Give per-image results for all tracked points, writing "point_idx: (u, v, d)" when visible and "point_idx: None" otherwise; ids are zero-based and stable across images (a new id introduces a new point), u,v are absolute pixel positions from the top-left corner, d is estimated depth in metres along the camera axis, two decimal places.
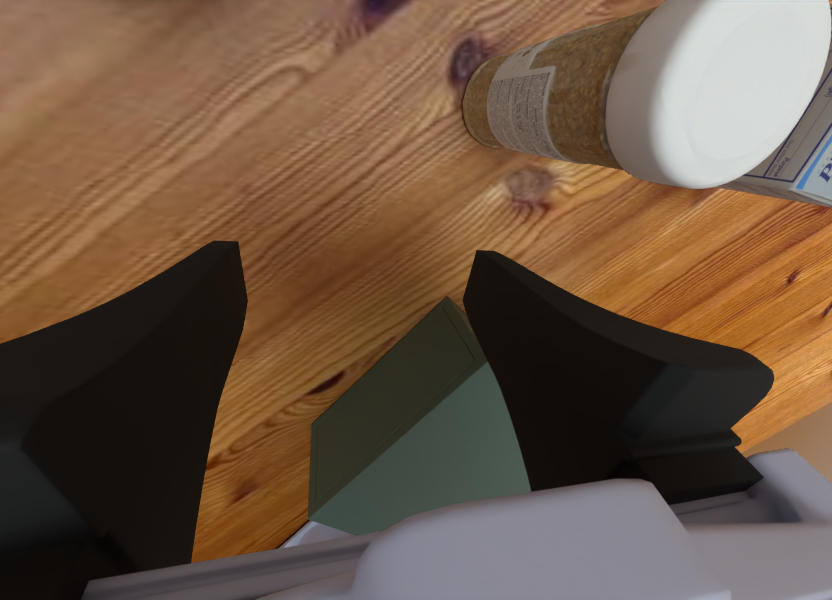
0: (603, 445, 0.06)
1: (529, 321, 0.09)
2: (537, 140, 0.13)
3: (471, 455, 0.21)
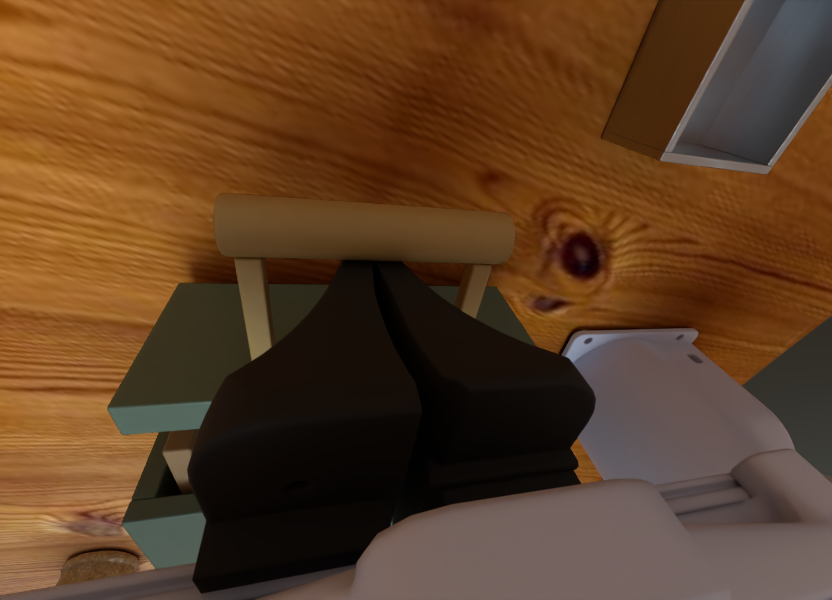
0: (418, 469, 0.06)
1: (390, 324, 0.08)
2: None
3: None
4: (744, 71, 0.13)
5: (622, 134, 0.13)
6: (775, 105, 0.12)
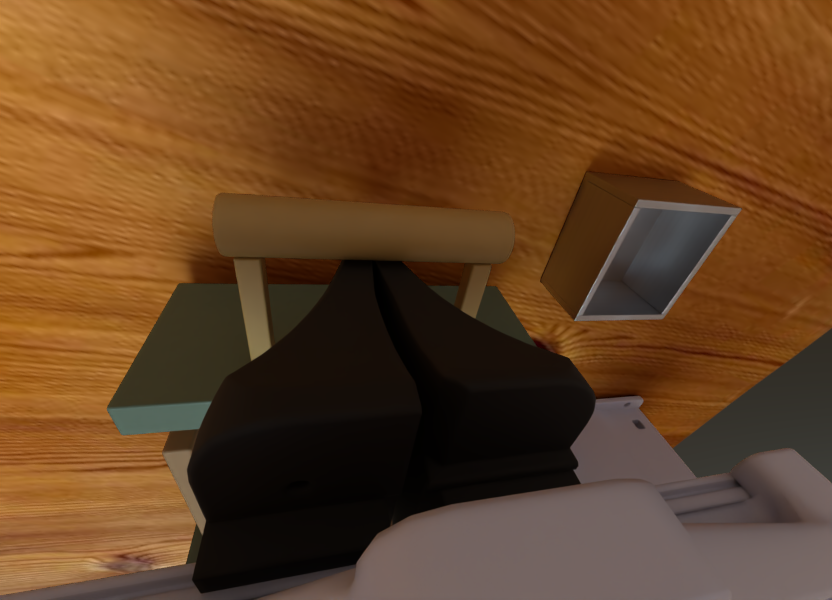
0: (418, 469, 0.06)
1: (390, 324, 0.08)
2: None
3: None
4: (647, 236, 0.17)
5: (552, 287, 0.17)
6: (666, 271, 0.16)
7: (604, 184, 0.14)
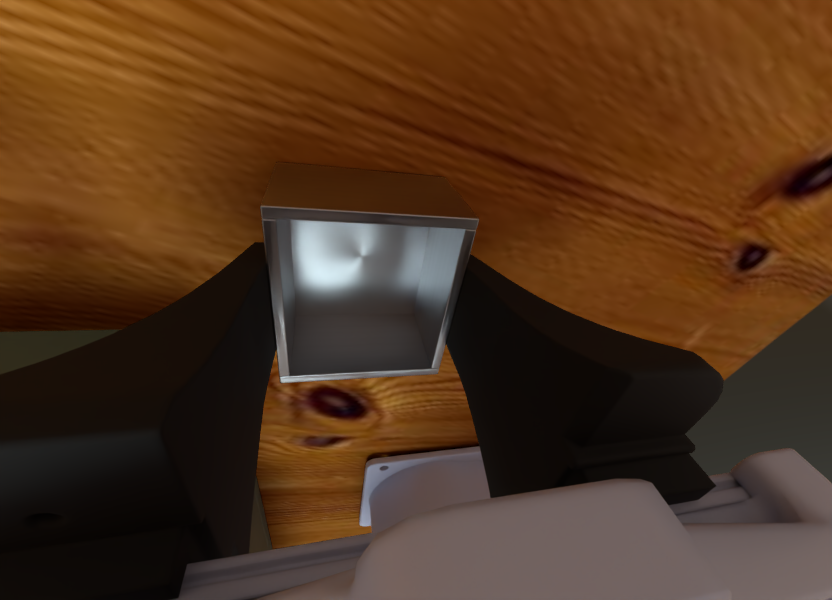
0: (551, 452, 0.06)
1: (488, 322, 0.08)
2: None
3: None
4: (422, 255, 0.12)
5: None
6: (433, 306, 0.11)
7: None
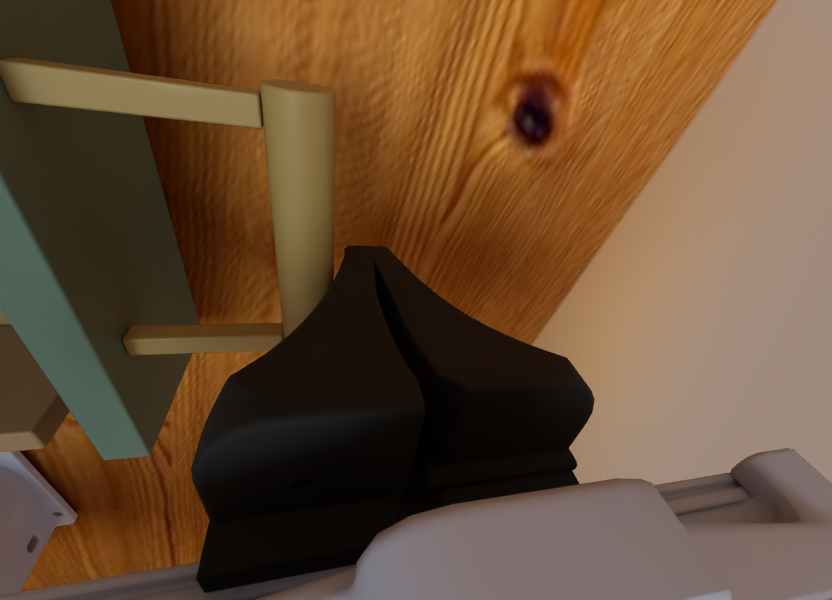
0: (416, 469, 0.06)
1: (389, 324, 0.08)
2: None
3: None
4: None
5: None
6: None
7: None
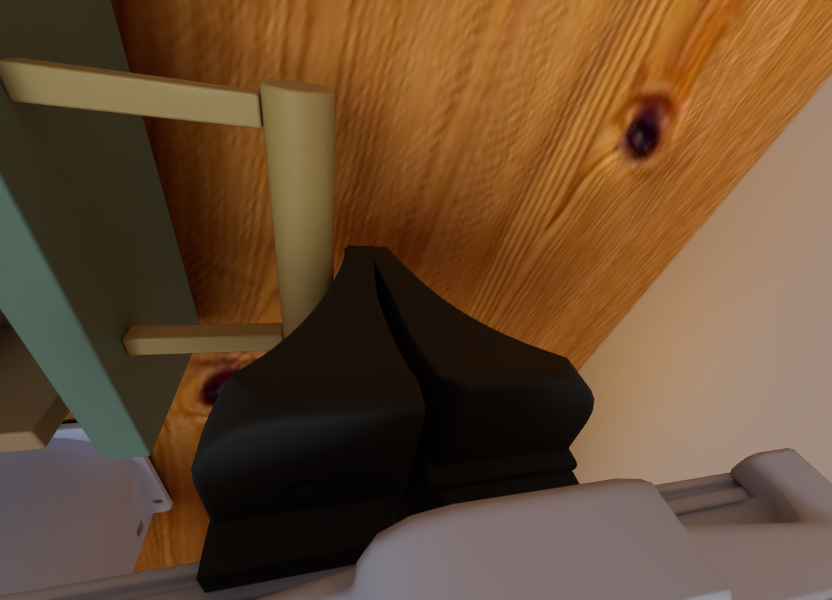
0: (416, 469, 0.06)
1: (389, 324, 0.08)
2: None
3: None
4: None
5: None
6: None
7: None
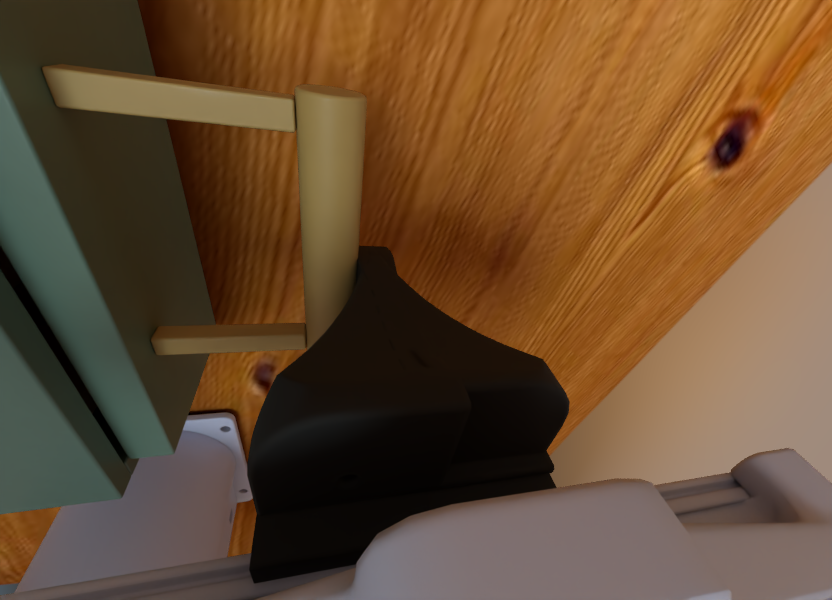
0: None
1: None
2: None
3: None
4: None
5: None
6: None
7: None
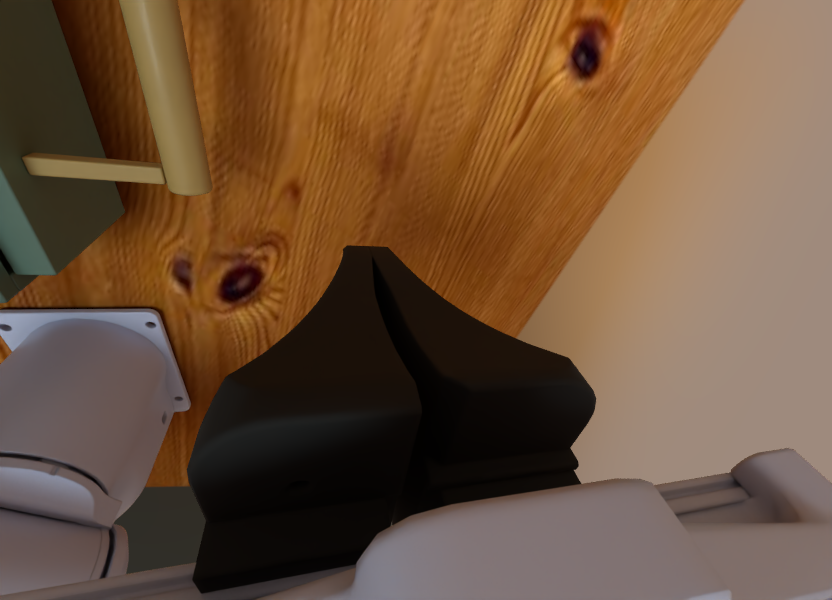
0: (418, 468, 0.06)
1: (390, 324, 0.08)
2: None
3: None
4: None
5: None
6: None
7: None
